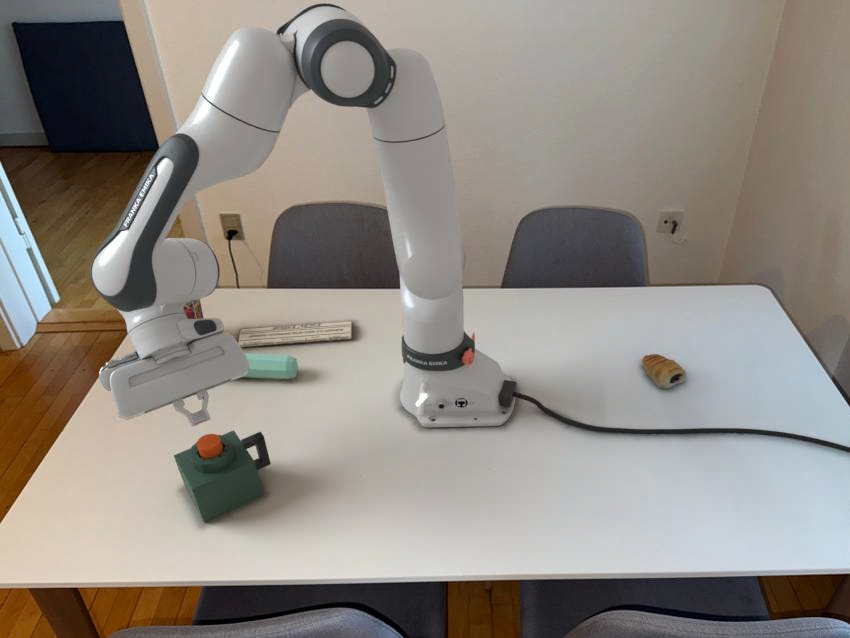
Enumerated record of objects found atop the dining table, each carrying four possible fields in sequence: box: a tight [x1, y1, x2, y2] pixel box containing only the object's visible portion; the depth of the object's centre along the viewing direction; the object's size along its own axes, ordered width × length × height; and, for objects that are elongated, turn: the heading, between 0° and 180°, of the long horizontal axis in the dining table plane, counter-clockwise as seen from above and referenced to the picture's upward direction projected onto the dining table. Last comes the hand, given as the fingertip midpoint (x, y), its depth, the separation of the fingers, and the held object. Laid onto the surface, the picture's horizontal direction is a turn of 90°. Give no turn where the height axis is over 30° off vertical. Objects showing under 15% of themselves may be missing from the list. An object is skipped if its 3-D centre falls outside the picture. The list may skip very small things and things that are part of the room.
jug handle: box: [240, 431, 272, 471], centre depth 118 cm, size 3×1×7 cm, turn 126°
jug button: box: [196, 433, 223, 459], centre depth 111 cm, size 4×4×2 cm
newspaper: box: [237, 320, 353, 348], centre depth 153 cm, size 24×7×2 cm, turn 98°
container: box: [242, 352, 299, 380], centre depth 141 cm, size 6×6×25 cm
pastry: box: [641, 353, 687, 390], centre depth 142 cm, size 9×7×4 cm
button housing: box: [173, 430, 264, 524], centre depth 115 cm, size 10×9×10 cm
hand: (201, 422), depth 110 cm, fingers closed
